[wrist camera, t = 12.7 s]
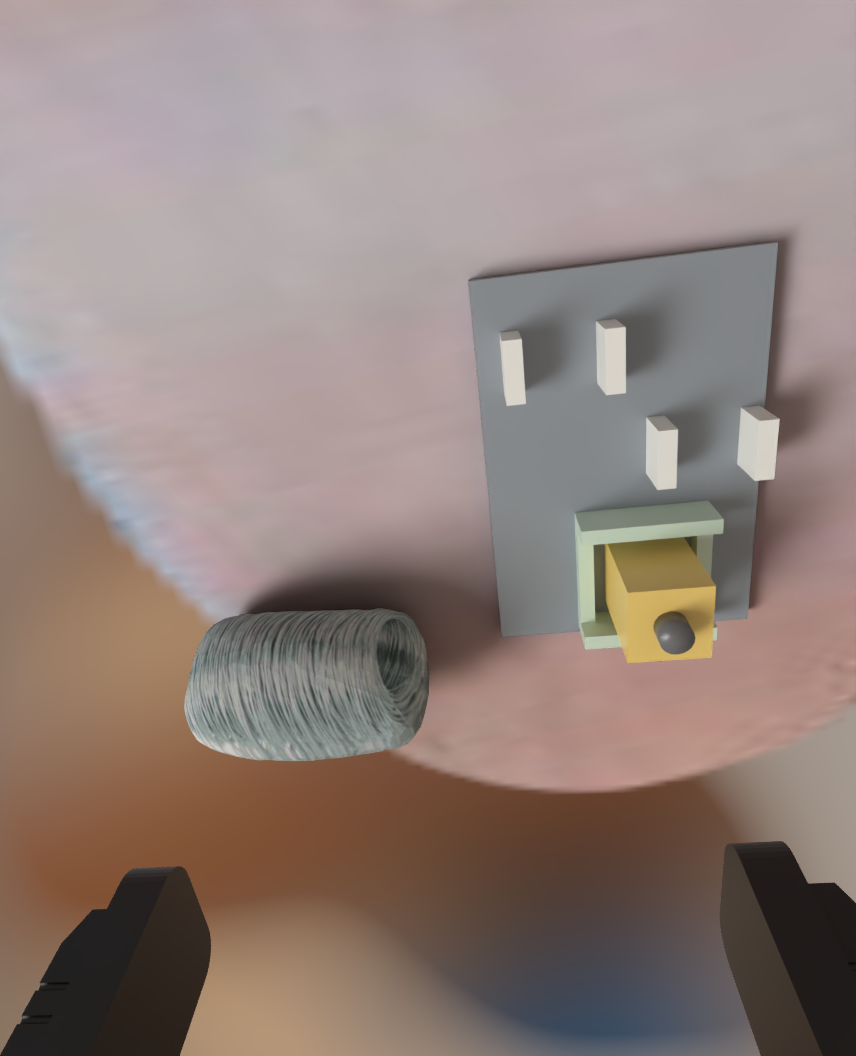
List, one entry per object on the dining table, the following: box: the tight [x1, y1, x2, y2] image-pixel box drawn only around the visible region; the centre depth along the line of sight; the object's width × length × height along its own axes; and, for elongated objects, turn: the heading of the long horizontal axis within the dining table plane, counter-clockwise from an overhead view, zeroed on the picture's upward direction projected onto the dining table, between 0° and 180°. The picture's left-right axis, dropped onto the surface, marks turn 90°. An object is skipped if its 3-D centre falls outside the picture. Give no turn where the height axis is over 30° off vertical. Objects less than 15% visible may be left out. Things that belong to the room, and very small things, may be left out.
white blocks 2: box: [646, 406, 780, 490], centre depth 34 cm, size 3×6×2 cm, turn 98°
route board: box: [468, 242, 778, 637], centre depth 36 cm, size 20×14×1 cm
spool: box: [184, 608, 429, 761], centre depth 39 cm, size 14×10×10 cm
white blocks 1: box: [499, 319, 626, 406], centre depth 33 cm, size 3×6×2 cm, turn 98°
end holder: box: [575, 501, 724, 650], centre depth 37 cm, size 7×7×2 cm
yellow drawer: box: [604, 537, 716, 663], centre depth 35 cm, size 4×4×7 cm
